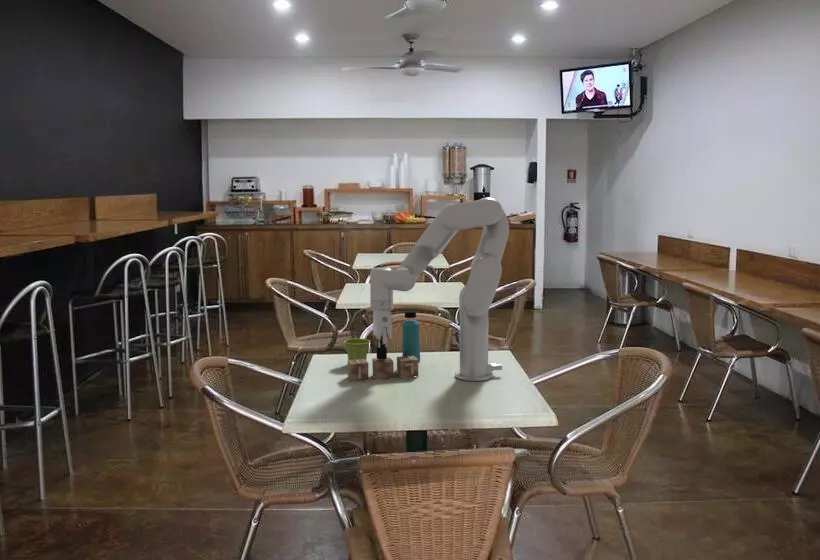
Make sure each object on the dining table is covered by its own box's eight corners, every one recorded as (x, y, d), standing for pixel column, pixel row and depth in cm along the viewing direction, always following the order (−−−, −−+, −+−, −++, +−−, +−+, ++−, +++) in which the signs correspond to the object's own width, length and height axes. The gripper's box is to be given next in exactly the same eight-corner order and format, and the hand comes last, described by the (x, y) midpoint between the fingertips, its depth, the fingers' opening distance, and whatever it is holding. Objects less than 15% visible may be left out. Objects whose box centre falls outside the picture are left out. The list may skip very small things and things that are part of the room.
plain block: (389, 374, 244) (389, 357, 243) (393, 378, 238) (393, 361, 237) (372, 375, 243) (372, 358, 242) (376, 380, 237) (375, 362, 236)
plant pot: (358, 360, 264) (358, 337, 263) (375, 364, 257) (375, 340, 256) (339, 364, 257) (338, 341, 256) (356, 369, 251) (356, 345, 250)
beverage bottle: (423, 365, 255) (423, 310, 252) (414, 369, 249) (413, 313, 247) (408, 363, 258) (407, 308, 256) (398, 367, 253) (397, 311, 250)
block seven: (413, 372, 246) (413, 355, 245) (418, 377, 240) (418, 359, 239) (397, 373, 245) (396, 356, 244) (401, 378, 239) (400, 360, 238)
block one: (365, 376, 242) (365, 358, 241) (368, 381, 236) (368, 362, 235) (347, 377, 241) (347, 359, 240) (350, 382, 235) (350, 364, 234)
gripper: (397, 308, 231) (397, 363, 233) (388, 300, 245) (387, 353, 248) (374, 309, 229) (374, 364, 231) (366, 301, 243) (366, 354, 246)
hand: (381, 358), depth 240 cm, fingers closed
